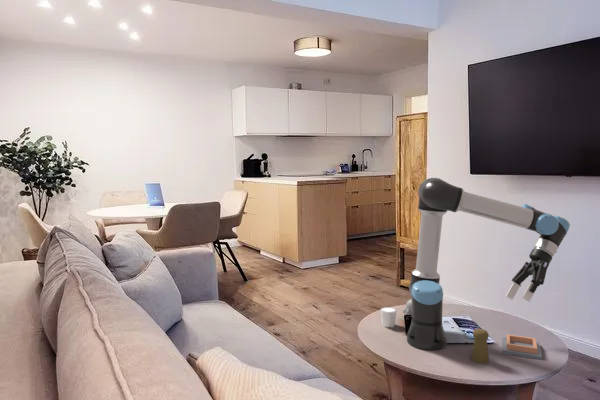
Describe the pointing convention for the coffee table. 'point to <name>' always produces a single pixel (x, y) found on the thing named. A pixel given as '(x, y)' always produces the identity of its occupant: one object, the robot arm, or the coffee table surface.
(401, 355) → the coffee table surface
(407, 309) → the toy rhinoceros
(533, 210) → the robot arm
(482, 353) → the cork
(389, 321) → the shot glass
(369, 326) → the coffee table surface
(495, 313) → the coffee table surface
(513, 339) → the pallet plate
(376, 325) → the coffee table surface
